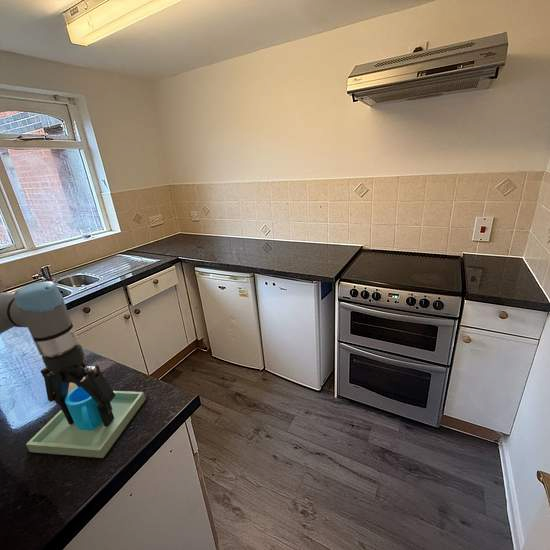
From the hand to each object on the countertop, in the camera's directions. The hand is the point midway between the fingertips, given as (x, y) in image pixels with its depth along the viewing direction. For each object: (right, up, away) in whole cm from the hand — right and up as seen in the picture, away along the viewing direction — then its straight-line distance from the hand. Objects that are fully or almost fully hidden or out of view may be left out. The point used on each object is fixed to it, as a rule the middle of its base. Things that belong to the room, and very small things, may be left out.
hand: (91, 421), depth 76 cm
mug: (+1, 0, 0) cm, 1 cm away
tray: (0, -1, 0) cm, 1 cm away
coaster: (-14, +4, +15) cm, 21 cm away
